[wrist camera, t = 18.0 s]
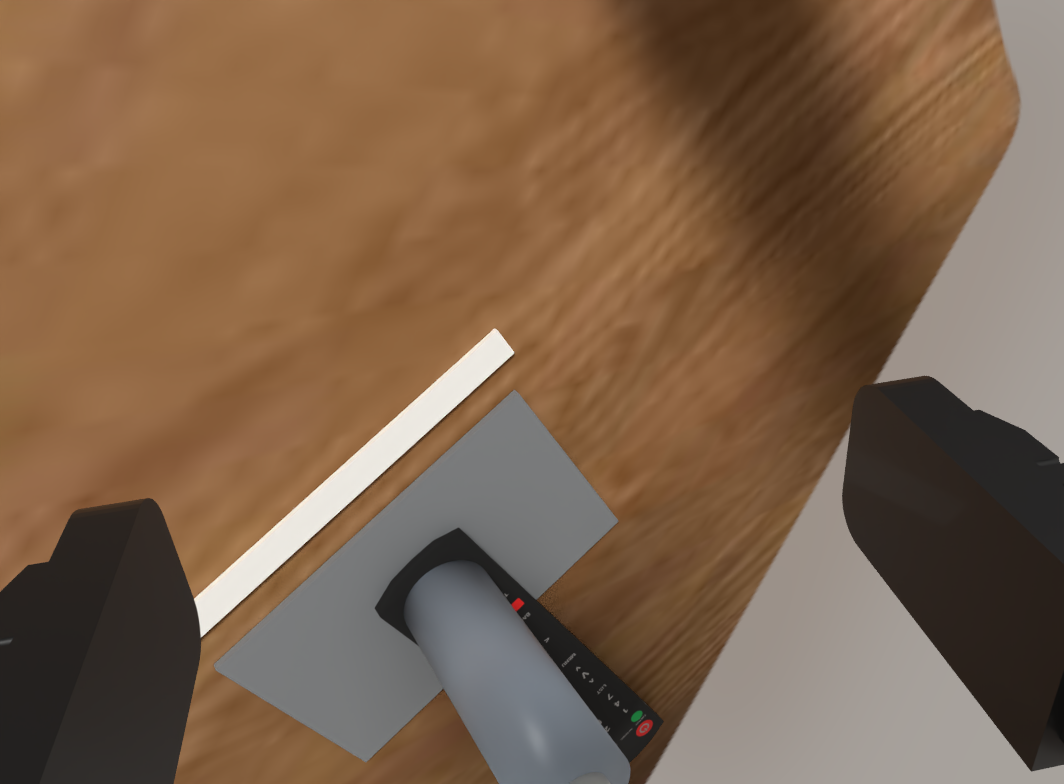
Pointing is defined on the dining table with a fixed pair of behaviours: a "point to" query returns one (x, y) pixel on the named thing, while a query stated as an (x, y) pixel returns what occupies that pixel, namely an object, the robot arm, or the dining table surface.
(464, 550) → the remote control
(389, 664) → the mat
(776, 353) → the dining table surface
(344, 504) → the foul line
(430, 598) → the slim bottle
